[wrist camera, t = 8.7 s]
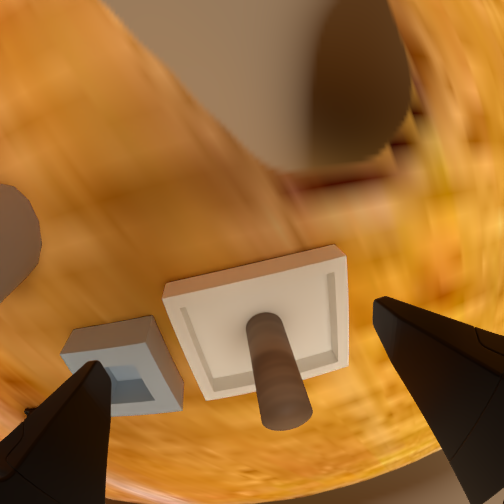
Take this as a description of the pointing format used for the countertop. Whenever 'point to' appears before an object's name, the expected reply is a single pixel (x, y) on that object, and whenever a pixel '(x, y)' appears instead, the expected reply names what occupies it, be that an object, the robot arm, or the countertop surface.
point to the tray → (259, 301)
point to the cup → (17, 239)
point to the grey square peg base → (130, 365)
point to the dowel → (276, 374)
